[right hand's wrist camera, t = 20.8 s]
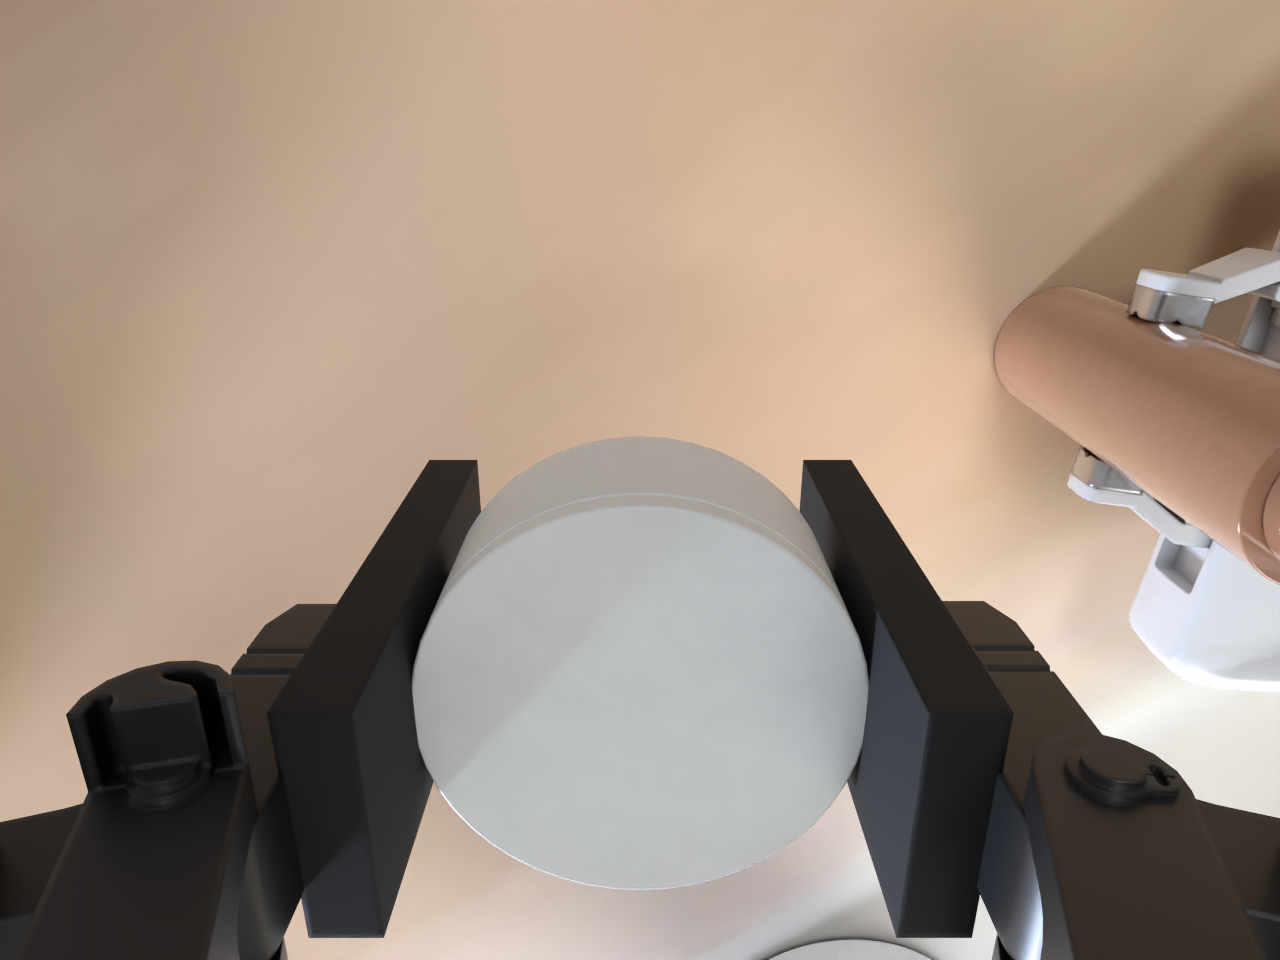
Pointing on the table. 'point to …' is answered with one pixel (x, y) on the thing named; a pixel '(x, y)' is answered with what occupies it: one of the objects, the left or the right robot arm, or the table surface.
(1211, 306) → the left robot arm
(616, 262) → the table surface
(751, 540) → the lid
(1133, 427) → the copper bottle
